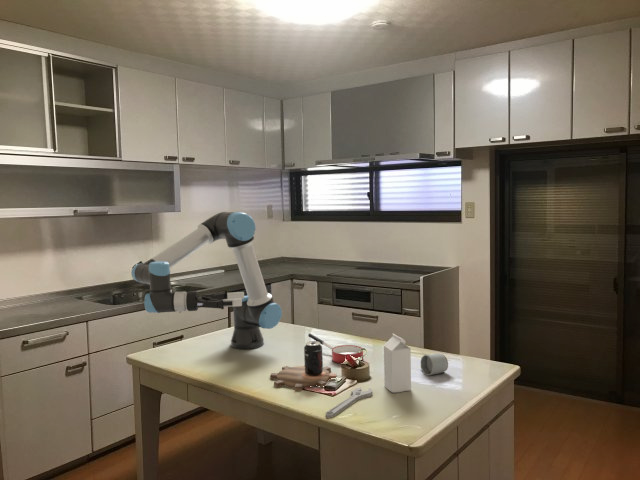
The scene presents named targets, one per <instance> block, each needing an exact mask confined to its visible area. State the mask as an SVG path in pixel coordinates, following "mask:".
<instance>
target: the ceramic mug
mask: <svg viewBox="0 0 640 480" xmlns="http://www.w3.org/2000/svg"><path fill="white" fill-rule="evenodd" d="M448 368H449V361H448V359H447V356H446V355H444V354H443V353H432V354H431V353H430V354H424V355H422V356H421V360H420V369H421V371H422V373H424V375H426V376H433V375H438V374H442V373H444V372H446V371H447V370H448Z"/></svg>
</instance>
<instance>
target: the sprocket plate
mask: <svg viewBox="0 0 640 480" xmlns="http://www.w3.org/2000/svg"><path fill="white" fill-rule="evenodd" d="M331 372H332V367H330V366H323V372H322V373H321V374H320V375H319V376H309V375H307V374H306V373H305V364H304V365H298V366H297V365H296V366H292V367H290V366H288V365H286V366H282V367H281V370H280V371H279V372H271V373H270V375H269V377H270V378H269V379H270V380H274V381H273V386H274V387H276V388H281V387H283V386H284V387H287V388H292V389H294V391H295V392H296V391H298V392H302V391H303V389H306V388H305V387H310V386H316V385H317V386H316V387H318V386H320V387H323V386H325V385H326V384H327V383H328V382H329V381H330V380H329V379H331V378H336V377H337V374H338V373H331ZM336 379H337V378H336ZM328 380H329V381H328ZM327 381H328V382H327ZM320 387H319V388H320ZM310 388H311V387H310ZM323 388H324V387H323Z"/></svg>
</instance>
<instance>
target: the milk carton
mask: <svg viewBox="0 0 640 480" xmlns="http://www.w3.org/2000/svg"><path fill="white" fill-rule="evenodd" d="M391 335H392V336H391V337H390V338H389V340H387V342H385V344H384V345H383V367H384V368H383V375H384V376H383V377H384V380H383V382H384V387H385V388H386V389H387V390H389V392H391V393H392V394H393V393H394V394H395V393H400V392H401V393H402V392H407V391H412V369H411V368H412V363H411V362H412V361H411V360H412V359H411V357H412V355H411V351H412V350H411V347H409V346H408V345H406V342H407V341H406V340H405V339H404V338H402V337H400V336H398V335H396V334H394V333H392V334H391Z"/></svg>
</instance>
